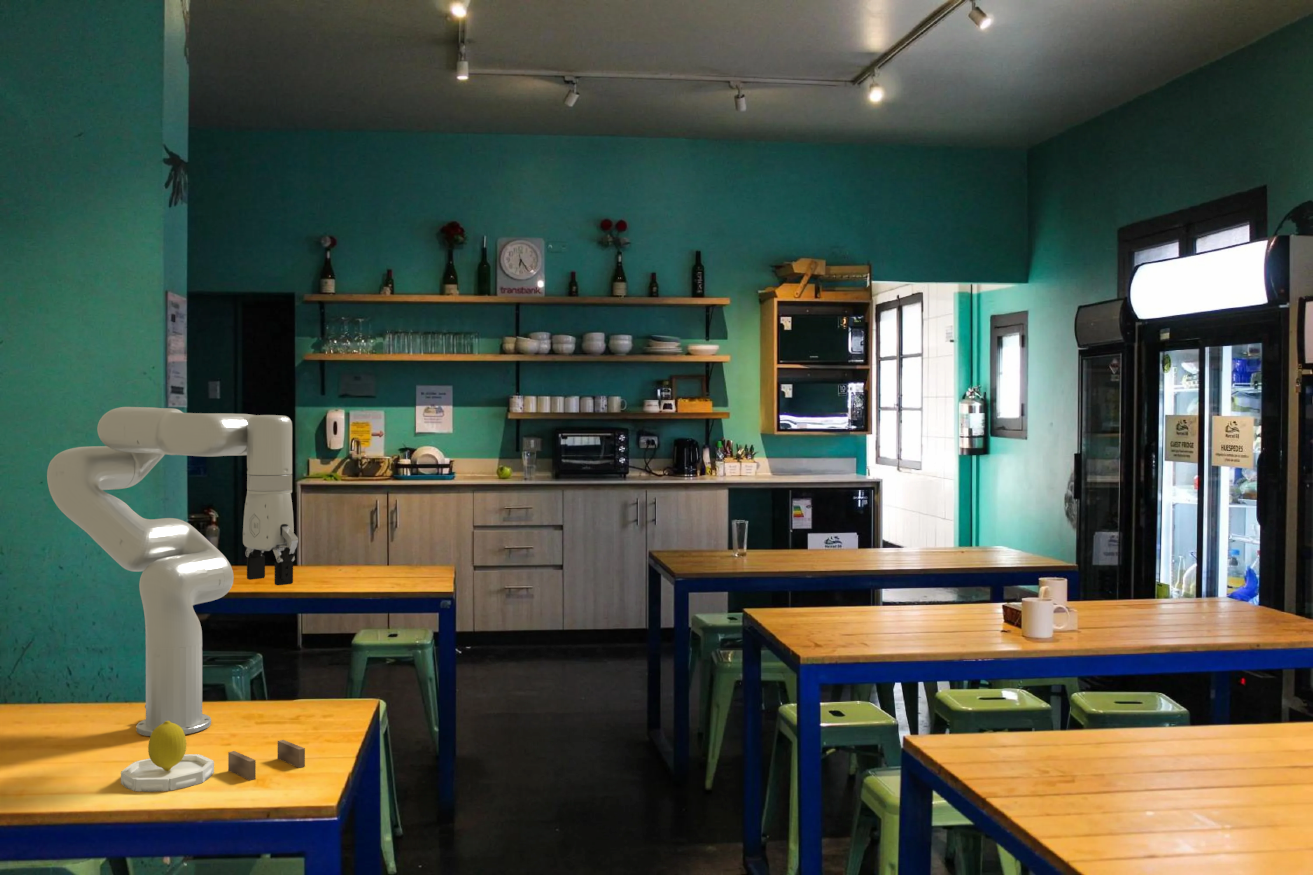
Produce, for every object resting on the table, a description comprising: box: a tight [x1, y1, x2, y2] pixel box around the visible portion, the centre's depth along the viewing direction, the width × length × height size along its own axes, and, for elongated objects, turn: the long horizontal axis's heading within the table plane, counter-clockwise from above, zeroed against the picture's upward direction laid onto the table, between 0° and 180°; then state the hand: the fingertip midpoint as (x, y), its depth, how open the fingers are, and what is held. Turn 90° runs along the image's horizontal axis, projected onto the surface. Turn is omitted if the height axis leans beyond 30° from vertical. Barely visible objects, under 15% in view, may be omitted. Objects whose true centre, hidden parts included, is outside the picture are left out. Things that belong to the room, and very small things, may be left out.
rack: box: [227, 739, 306, 781], centre depth 179 cm, size 7×10×3 cm
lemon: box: [147, 721, 187, 771], centre depth 175 cm, size 6×6×8 cm
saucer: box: [120, 753, 215, 793], centre depth 174 cm, size 13×13×2 cm
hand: (269, 581), depth 194 cm, fingers open, 9 cm apart
